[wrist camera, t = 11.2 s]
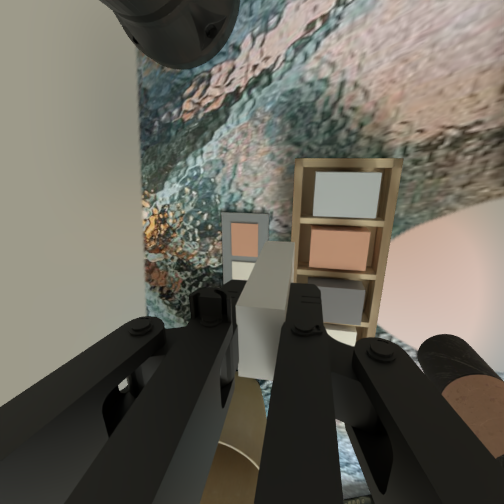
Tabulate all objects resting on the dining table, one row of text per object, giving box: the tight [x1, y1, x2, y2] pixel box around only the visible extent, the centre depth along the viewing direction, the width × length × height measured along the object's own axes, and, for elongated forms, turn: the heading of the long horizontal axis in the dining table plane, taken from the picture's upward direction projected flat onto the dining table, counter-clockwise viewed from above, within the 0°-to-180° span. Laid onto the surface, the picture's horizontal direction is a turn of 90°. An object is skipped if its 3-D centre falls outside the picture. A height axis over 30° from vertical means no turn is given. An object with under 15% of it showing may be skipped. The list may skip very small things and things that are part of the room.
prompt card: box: [221, 212, 269, 284], centre depth 43 cm, size 7×14×1 cm, turn 0°
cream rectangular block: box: [324, 323, 357, 346], centre depth 41 cm, size 7×5×3 cm
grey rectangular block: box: [307, 277, 366, 326], centre depth 37 cm, size 7×5×3 cm
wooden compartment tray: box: [291, 158, 403, 342], centre depth 39 cm, size 12×29×4 cm, turn 0°
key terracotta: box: [309, 225, 371, 271], centre depth 37 cm, size 7×5×3 cm
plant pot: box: [200, 371, 267, 504], centre depth 43 cm, size 15×15×16 cm
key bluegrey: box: [313, 171, 382, 218], centre depth 33 cm, size 7×5×3 cm
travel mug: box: [418, 334, 504, 468], centre depth 32 cm, size 8×8×20 cm
